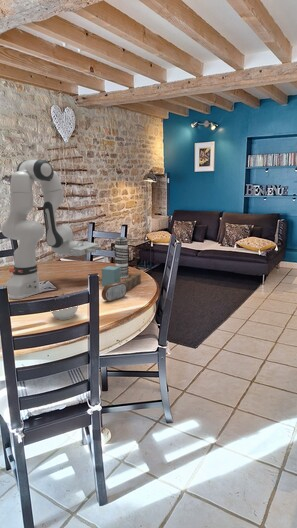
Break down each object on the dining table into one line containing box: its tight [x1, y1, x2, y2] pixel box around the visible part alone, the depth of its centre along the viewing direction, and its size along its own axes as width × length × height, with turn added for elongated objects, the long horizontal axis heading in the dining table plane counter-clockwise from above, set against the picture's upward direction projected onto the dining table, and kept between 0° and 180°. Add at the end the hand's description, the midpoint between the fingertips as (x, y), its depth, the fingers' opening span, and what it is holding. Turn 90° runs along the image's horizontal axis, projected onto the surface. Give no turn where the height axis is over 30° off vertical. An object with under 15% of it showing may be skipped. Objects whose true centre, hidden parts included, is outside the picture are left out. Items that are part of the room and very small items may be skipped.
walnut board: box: [121, 273, 142, 293], centre depth 202 cm, size 22×3×5 cm, turn 159°
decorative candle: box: [113, 236, 130, 279], centre depth 223 cm, size 9×9×25 cm
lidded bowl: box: [50, 292, 79, 321], centre depth 156 cm, size 13×13×11 cm
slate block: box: [101, 265, 122, 287], centre depth 206 cm, size 8×8×10 cm
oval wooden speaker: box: [101, 281, 128, 302], centre depth 180 cm, size 15×3×8 cm, turn 136°
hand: (97, 249), depth 206 cm, fingers open, 5 cm apart
